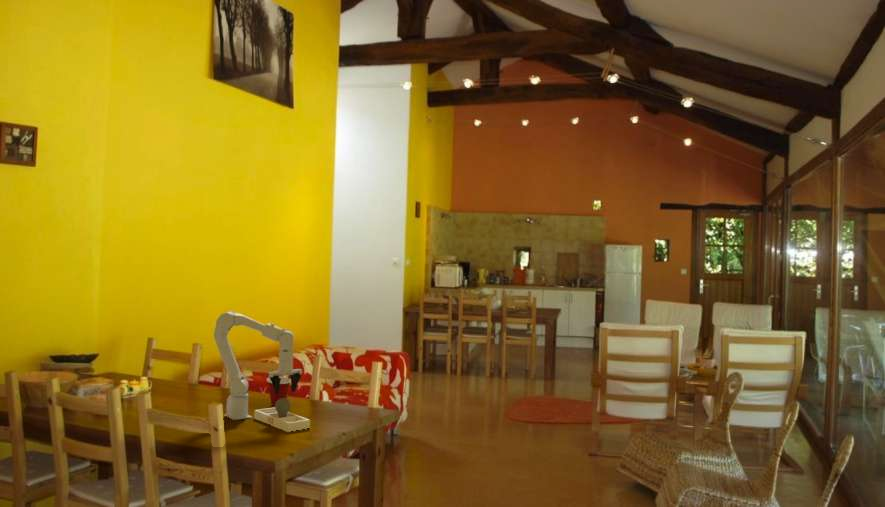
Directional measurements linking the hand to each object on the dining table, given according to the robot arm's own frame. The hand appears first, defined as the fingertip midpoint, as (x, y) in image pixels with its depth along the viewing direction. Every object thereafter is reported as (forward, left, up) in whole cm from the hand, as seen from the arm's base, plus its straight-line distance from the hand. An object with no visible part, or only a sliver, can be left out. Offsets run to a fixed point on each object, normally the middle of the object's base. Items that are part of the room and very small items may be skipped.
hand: (285, 392), depth 305 cm
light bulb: (+9, -6, -10) cm, 15 cm away
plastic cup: (-21, +9, -11) cm, 25 cm away
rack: (+8, -6, -10) cm, 14 cm away
